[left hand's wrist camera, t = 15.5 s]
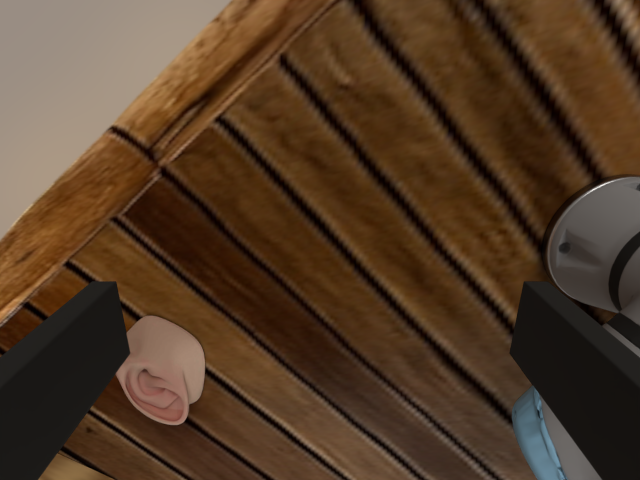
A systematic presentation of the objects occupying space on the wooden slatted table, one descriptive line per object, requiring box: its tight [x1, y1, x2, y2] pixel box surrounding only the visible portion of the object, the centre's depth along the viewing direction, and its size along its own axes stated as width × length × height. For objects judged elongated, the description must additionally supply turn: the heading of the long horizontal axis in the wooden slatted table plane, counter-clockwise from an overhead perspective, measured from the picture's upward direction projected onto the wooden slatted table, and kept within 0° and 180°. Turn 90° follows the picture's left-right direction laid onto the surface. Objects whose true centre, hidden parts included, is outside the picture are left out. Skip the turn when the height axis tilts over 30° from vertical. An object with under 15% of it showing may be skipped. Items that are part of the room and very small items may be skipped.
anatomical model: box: [116, 316, 205, 425], centre depth 49 cm, size 13×4×12 cm
